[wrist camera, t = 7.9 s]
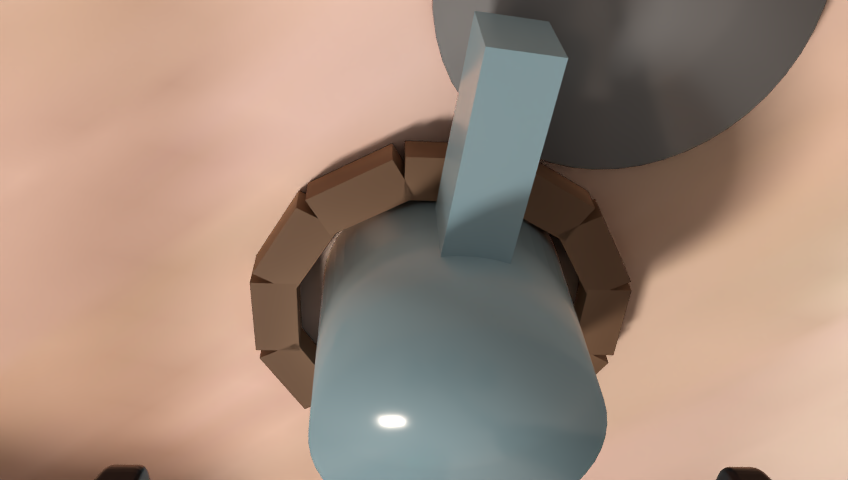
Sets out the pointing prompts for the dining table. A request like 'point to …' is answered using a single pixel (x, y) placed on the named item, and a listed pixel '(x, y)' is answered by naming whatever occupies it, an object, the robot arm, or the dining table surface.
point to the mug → (461, 303)
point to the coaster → (647, 68)
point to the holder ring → (396, 184)
